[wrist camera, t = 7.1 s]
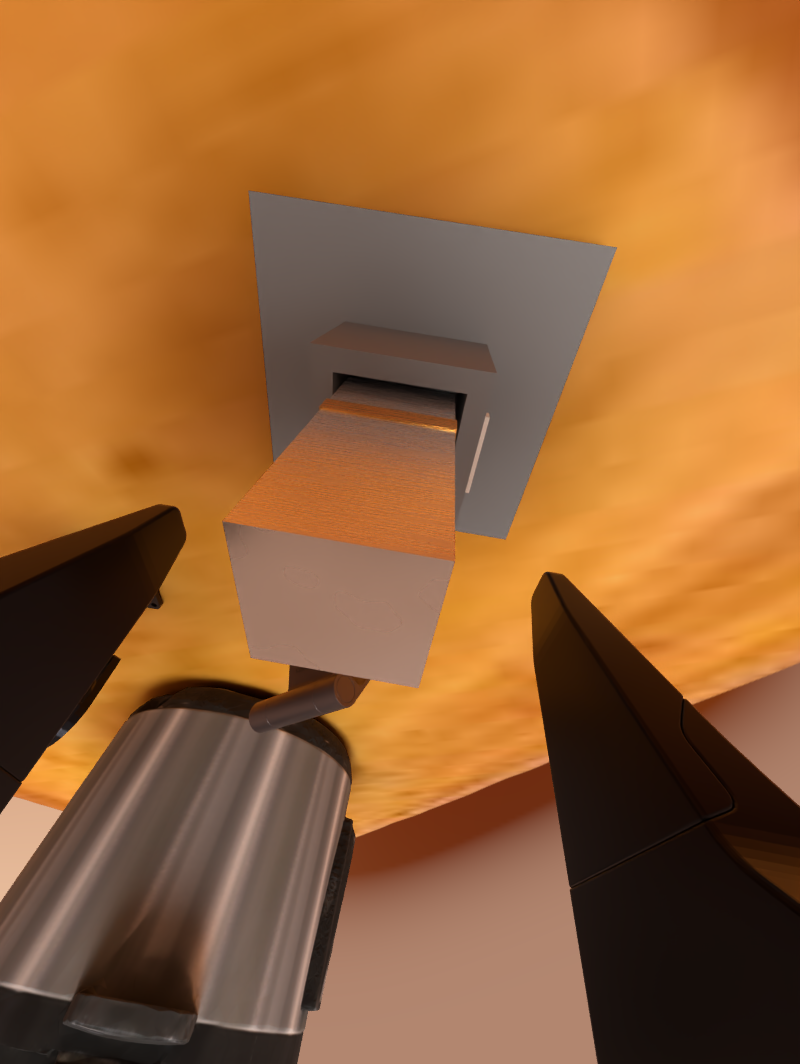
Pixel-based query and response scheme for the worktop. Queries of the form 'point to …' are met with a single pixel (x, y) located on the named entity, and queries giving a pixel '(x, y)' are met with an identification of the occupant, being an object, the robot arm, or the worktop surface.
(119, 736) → the pressure cooker
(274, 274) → the grey socket plate
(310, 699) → the portable electronic device stand
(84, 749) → the worktop surface
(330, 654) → the steel column
